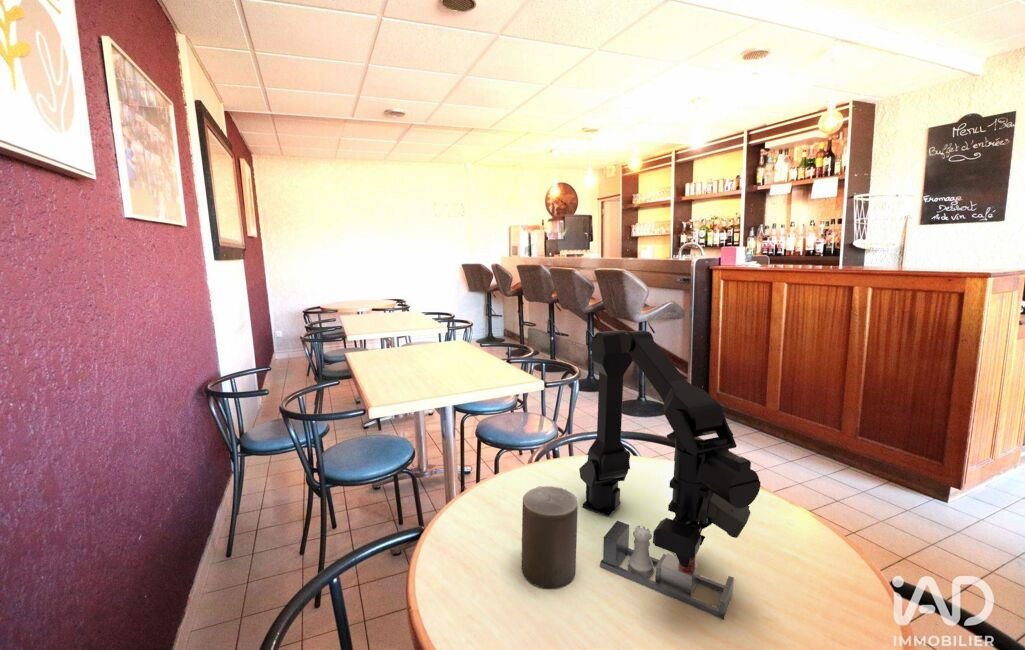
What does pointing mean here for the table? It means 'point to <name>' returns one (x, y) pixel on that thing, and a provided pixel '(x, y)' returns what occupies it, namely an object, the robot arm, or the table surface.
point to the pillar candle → (549, 536)
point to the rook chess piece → (641, 553)
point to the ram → (676, 574)
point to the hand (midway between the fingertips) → (687, 561)
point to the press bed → (619, 549)
